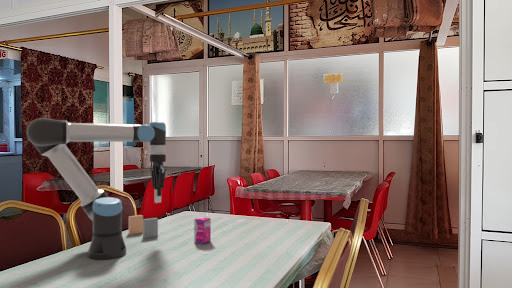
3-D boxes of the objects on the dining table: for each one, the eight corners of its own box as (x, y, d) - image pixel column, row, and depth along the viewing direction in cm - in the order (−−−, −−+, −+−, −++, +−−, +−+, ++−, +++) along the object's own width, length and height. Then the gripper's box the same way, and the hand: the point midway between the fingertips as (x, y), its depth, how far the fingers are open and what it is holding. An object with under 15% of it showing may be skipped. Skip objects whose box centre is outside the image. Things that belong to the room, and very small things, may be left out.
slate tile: (144, 238, 196) (144, 220, 196) (142, 237, 198) (142, 219, 198) (157, 236, 200) (157, 218, 200) (156, 235, 202) (156, 217, 202)
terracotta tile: (129, 234, 204) (129, 217, 204) (128, 233, 205) (128, 216, 205) (143, 232, 208) (143, 215, 208) (141, 231, 210) (141, 214, 210)
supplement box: (193, 243, 187) (193, 218, 187) (201, 240, 192) (201, 216, 192) (203, 244, 184) (203, 220, 184) (211, 241, 190) (211, 217, 189)
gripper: (171, 154, 189) (171, 203, 189) (159, 153, 199) (159, 200, 200) (156, 154, 184) (156, 205, 184) (144, 153, 195) (144, 201, 195)
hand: (157, 202), depth 192 cm, fingers closed
